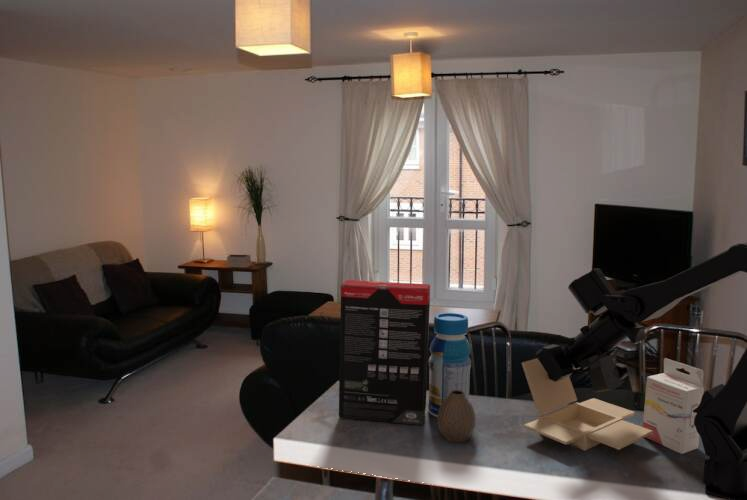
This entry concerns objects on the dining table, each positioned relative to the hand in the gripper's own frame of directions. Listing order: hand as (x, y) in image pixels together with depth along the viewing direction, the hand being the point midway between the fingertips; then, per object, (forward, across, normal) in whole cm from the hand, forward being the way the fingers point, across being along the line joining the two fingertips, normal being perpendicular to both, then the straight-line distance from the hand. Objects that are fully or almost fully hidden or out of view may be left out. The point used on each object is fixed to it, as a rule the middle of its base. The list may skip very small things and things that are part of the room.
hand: (550, 377), depth 124 cm
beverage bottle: (+16, -13, +4) cm, 22 cm away
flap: (+2, 0, -5) cm, 6 cm away
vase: (+10, -20, -2) cm, 23 cm away
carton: (-1, 0, -13) cm, 14 cm away
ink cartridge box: (-7, +9, -20) cm, 24 cm away
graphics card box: (+21, -25, +8) cm, 34 cm away
